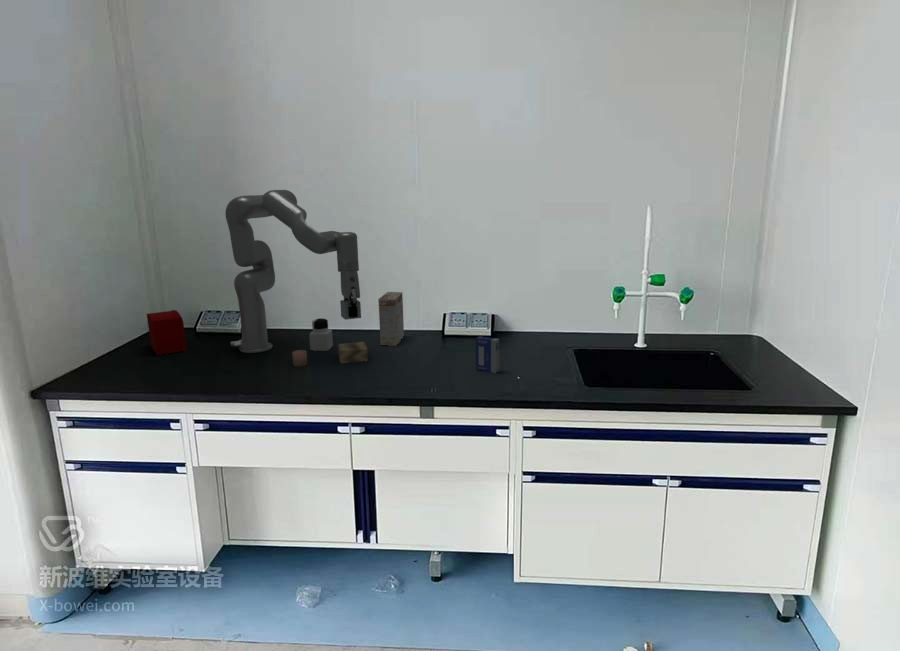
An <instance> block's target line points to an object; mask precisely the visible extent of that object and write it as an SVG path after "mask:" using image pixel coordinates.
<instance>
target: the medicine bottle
mask: <svg viewBox="0 0 900 651" xmlns="http://www.w3.org/2000/svg"><path fill="white" fill-rule="evenodd" d="M311 323H312V331H311V332H310V333H309V334H308V335H309V348H310V351H311V350H313V351H312V352H328V351H329V350H331V349H332V347H333V346H334V343H333V342H334V341H333V329H331V328H330V329H329V321H328V319H326V318H321V317H320V318H316V319H313V320H312V321H311Z"/></svg>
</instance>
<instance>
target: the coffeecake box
mask: <svg viewBox="0 0 900 651" xmlns="http://www.w3.org/2000/svg"><path fill="white" fill-rule="evenodd" d="M377 300H378V319H379V339H380V340H379V341H380V342H379V343H380V345H388V346H387V347H397V346H398V345H399V344H400V342H401V341H402V340H403V338H404V337H405V330H404V327H405V326H404V324H405V323H404V302H403V300H404V298H403V292H402V291H401V292H399V291H387V292H385V293H384V294H383V295H382V296H380V297H379V298H378V299H377ZM403 336H404V337H403ZM401 339H402V340H401ZM397 344H398V345H397Z"/></svg>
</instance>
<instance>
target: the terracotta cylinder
mask: <svg viewBox="0 0 900 651" xmlns="http://www.w3.org/2000/svg"><path fill="white" fill-rule="evenodd" d="M307 353H308V352H307V350H305V349H297V350H294V351H292V352H291V354H292V364H293V365H294V366H299V367H298V368H301V367H300V366H304V367H306V366H305V365H307V366H308V357H307V356H308V354H307ZM294 366H293V367H294Z"/></svg>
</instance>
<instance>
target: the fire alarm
mask: <svg viewBox="0 0 900 651" xmlns="http://www.w3.org/2000/svg"><path fill="white" fill-rule="evenodd" d="M146 319H147V326H148V327H147V328H148V332H149V338H150V345H151V346H152V347H151V348H153V349H154V350H153V349H152V350H153V352H154V351H155V352H156V353H155V352H154V353H155V355H156V354H157V355H160V354H166V353H172V354H174V353H173V352H178V353H181V352H180V351H186V352H187V341H186V331H185V326H184V320H183V317H182V316H181V313H180V312H178V311H177V310H175V309H171V310H168V311H159V312H151V313H146ZM157 355H156V356H157ZM166 355H167V354H166ZM160 356H161V355H160Z"/></svg>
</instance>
